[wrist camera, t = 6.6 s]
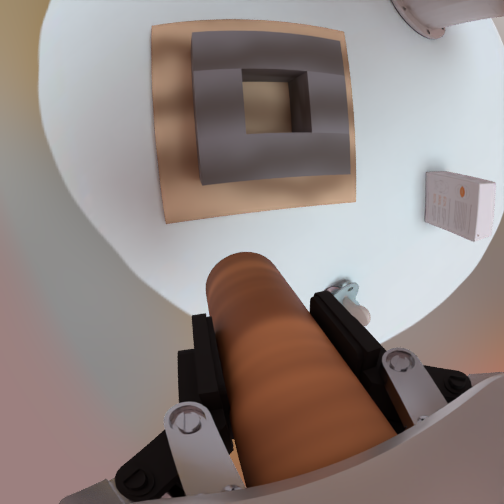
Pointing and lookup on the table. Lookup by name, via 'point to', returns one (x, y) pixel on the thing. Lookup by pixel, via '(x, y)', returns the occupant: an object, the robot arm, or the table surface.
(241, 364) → the peg
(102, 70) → the table surface
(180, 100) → the socket
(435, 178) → the small box
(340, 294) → the pacifier
